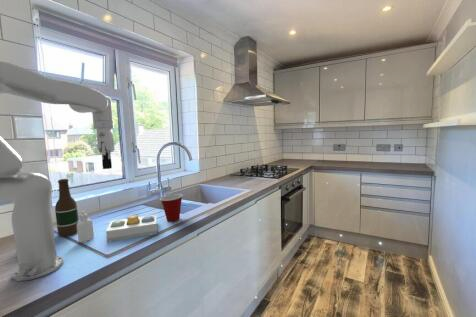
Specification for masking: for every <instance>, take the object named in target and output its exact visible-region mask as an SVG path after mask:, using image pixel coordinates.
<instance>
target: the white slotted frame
mask: <svg viewBox="0 0 476 317" xmlns="http://www.w3.org/2000/svg"><path fill="white" fill-rule="evenodd" d="M146 216H147V215H145V216H143V215H142V216H138V219H139V223H138V224H132V225H128V221H127V218H121V219H120V220H123V222H124V226H118V227H112V222H114V221H117V220H118V219H115V220H114V219H113V220H110V221H109V224H108V227H107V228H106V230H105V233H106V235H105V236H106V242H107V243H109V242H115V241H123V240H127V239H135V238H139V237H140V236H141V237H145V235H147V236H151V235H150V234H153V235H158V225H157V224H158V223H157V214H151V215H149V216H153V221H152V222H145V223H143V219H142V218H143V217H146Z"/></svg>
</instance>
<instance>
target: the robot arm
mask: <svg viewBox="0 0 476 317" xmlns="http://www.w3.org/2000/svg"><path fill="white" fill-rule="evenodd" d="M0 94H10V95H13V96H17V97H20V98H21V97H22V98H23V99H24V98H25V99H29V100H32V101H37V102H40V103H45V104H51V105H68V106H69V107H70V109H71V110H73V112H76V113H80V114H84V113H85V114H86V113H91V115H92V123H93V130H96V143H97V151H98V153H100V154H101V159H102V160H101V161H102V162H101V163H102V169H103V170H106V169H107V170H108V169H112V168H113V167H112V159H111V158H112V157H111V153H113V152H115V143H114V142H115V141H114V134H113V130H114V129H115V126H114V114H113V104H112V102H113V101H112V99H111V97H110V96H107V95H105V94H104V93H102V92H101V91H99V90H97V89H94V88H92V87H90V86H87V85H84V84H79V83H74V82H69V81H66V80H65V81H64V80H60V79H56V78H51V77H48V76H46V75H44V74H41V73H38V72H35V71H32V70H30V69H27V68H24V67H22V66H19V65H16V64H13V63H11V62H8V61H7V62H6V61H0ZM23 166H24V163H23V159H22V157H21V155H20V154H19V153H18V152H17V151H16V150H15V149H14V148H13V147H12V146H11V145H10V144H9V143H8V142H7V141H6V140H5V139H4V138H3V137H2V136H1V135H0V202H5V203H13V209H12V212H11V226H12V232H13V238H14V239H13V240H14V245H15V246H14V247H15V254H16V260H17V266H18V267H17V268H15V269H14V270H13V271H12V275H11V276H12V279H13V280H14V281H17V282H21V281H29V280H35V279H39V278H41V277H44V276H46V275H49V274H51V273H53V272H54V271H56V270H57V269H60V267H62V266H63V264H64V258H63V257H62V256H60V255H57V248H56V240H55V232H54V231H55V229H54V224H53V223H54V222H53V217H52V216H53V215H52V203H51V202H52V193H53V186H52V185H53V184H52V182H51V180H50V178H48V177H47V176H46V175H44V174H42V173H39V172H32V171H21V170H22V169H23Z"/></svg>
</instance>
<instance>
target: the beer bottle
mask: <svg viewBox="0 0 476 317" xmlns="http://www.w3.org/2000/svg"><path fill="white" fill-rule="evenodd" d="M57 183H58V193H59V194H58V196H59V197H58V200H57V202H56V203H55V208H54V211H55V212H54V213H55V220H56V228H57V235H58V236H59V237H63V238H64V237H70V236H73V235H76V234H77V223H78V222H80V221H79V214H78V213H79V212H78V205H77V202H76V200H75V199H74V198H73V197H72V196H71V195H72V194H71V190H70V186H69V179H68V178H61V179H59V180H58V181H57Z"/></svg>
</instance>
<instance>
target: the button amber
mask: <svg viewBox="0 0 476 317" xmlns="http://www.w3.org/2000/svg"><path fill="white" fill-rule="evenodd" d="M138 217H139V215H138V214H136V215H135V214H133V215H129V216H127V218H126V219H127V221H128V225H132V224H138V223H139V219H138Z"/></svg>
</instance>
